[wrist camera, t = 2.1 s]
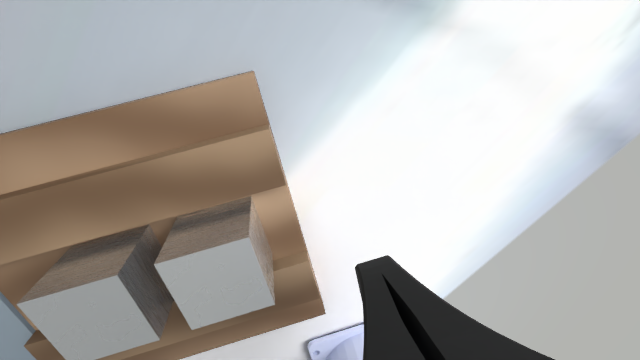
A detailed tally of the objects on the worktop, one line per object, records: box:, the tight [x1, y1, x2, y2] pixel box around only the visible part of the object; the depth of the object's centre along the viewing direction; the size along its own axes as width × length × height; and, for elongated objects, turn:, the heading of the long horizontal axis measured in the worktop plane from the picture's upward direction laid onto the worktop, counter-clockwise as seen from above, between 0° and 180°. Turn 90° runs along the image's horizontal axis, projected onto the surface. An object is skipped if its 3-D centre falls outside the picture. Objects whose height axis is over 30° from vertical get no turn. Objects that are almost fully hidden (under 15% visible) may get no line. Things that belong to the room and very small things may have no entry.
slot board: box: [0, 71, 326, 360], centre depth 17 cm, size 16×16×2 cm
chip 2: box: [154, 196, 275, 330], centre depth 15 cm, size 4×4×4 cm
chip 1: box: [16, 224, 174, 360], centre depth 15 cm, size 4×4×4 cm
